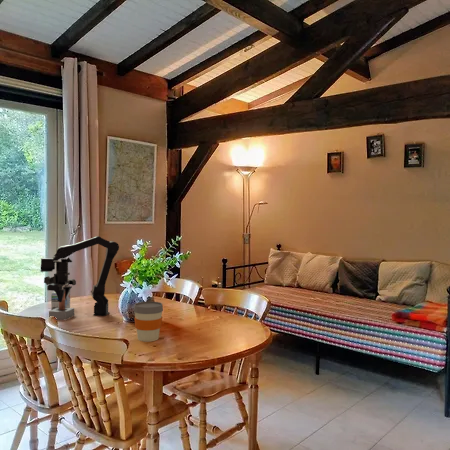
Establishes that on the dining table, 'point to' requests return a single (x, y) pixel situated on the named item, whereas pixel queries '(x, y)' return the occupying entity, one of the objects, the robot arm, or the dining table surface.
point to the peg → (62, 303)
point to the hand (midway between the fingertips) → (62, 301)
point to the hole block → (62, 313)
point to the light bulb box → (56, 302)
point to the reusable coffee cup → (148, 320)
